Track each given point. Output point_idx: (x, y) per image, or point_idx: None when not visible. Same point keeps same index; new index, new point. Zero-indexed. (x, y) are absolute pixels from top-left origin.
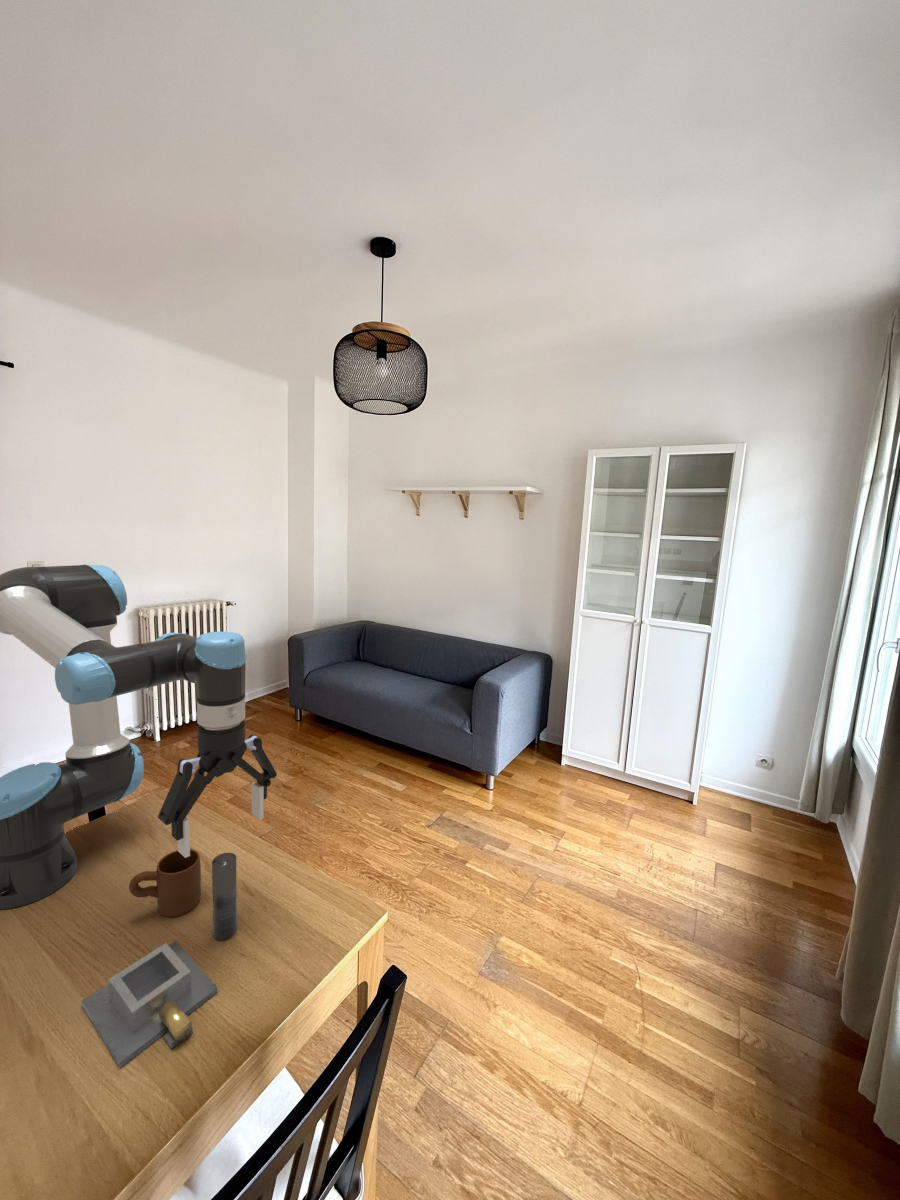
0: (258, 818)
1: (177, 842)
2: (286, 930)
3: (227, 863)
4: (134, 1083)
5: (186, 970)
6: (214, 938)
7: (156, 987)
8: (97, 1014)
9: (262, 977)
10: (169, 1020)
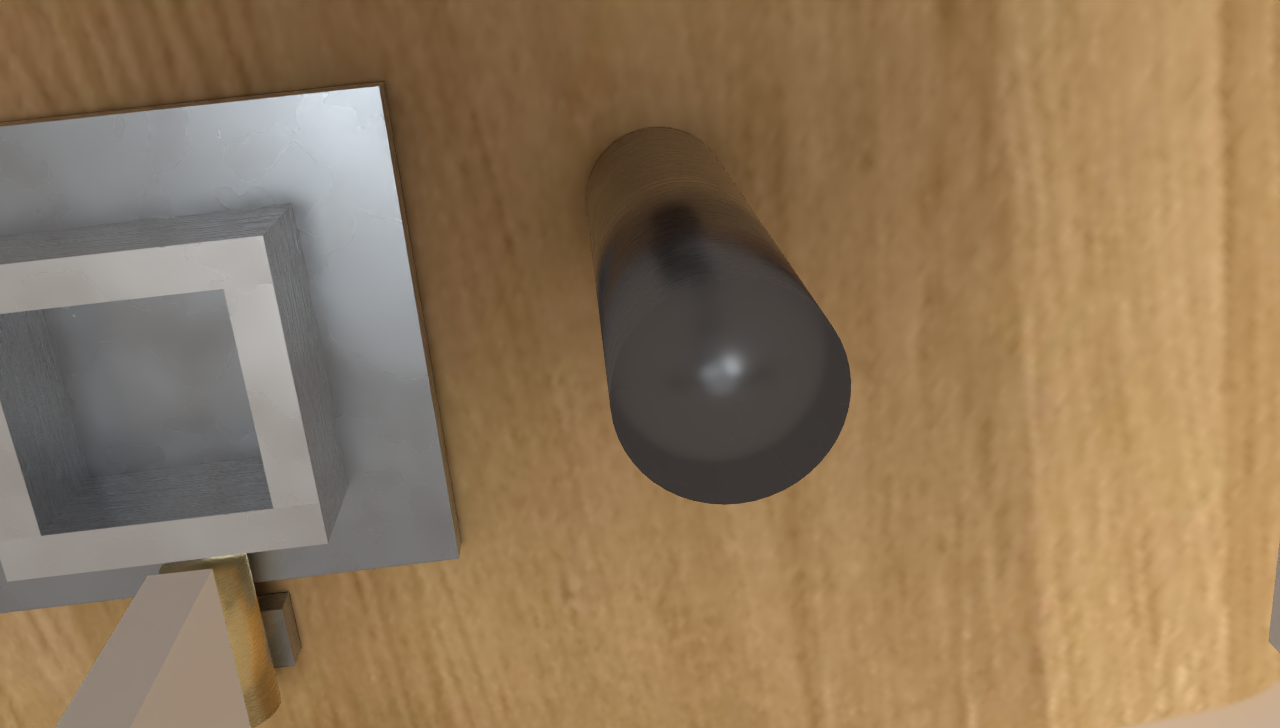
0: (1278, 617)
1: (100, 654)
2: (920, 440)
3: (729, 467)
4: (49, 689)
5: (309, 524)
6: (586, 202)
7: (202, 348)
8: None
9: (666, 609)
10: None
